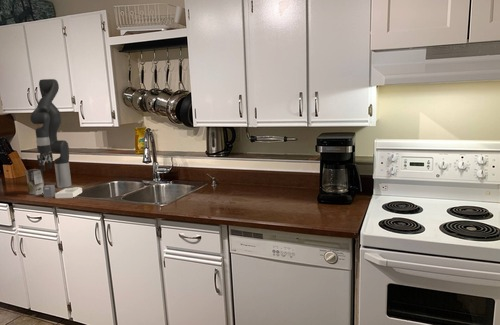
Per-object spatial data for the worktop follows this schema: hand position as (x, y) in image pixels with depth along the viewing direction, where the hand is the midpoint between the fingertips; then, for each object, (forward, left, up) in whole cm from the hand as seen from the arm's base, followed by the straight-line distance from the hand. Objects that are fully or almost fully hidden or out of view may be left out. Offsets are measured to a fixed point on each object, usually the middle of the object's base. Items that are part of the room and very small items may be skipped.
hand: (46, 169), depth 238 cm
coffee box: (-9, -13, -18) cm, 24 cm away
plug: (0, 0, -18) cm, 18 cm away
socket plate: (-1, +12, -18) cm, 21 cm away
